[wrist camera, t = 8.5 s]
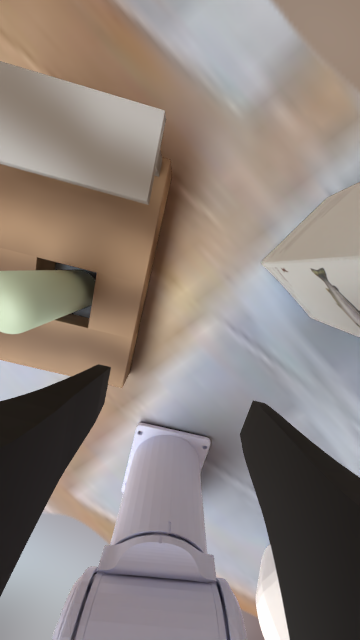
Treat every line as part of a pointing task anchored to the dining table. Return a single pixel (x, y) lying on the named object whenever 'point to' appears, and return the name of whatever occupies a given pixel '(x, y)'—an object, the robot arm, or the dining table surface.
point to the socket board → (80, 212)
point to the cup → (270, 600)
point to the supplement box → (324, 262)
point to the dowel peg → (41, 297)
